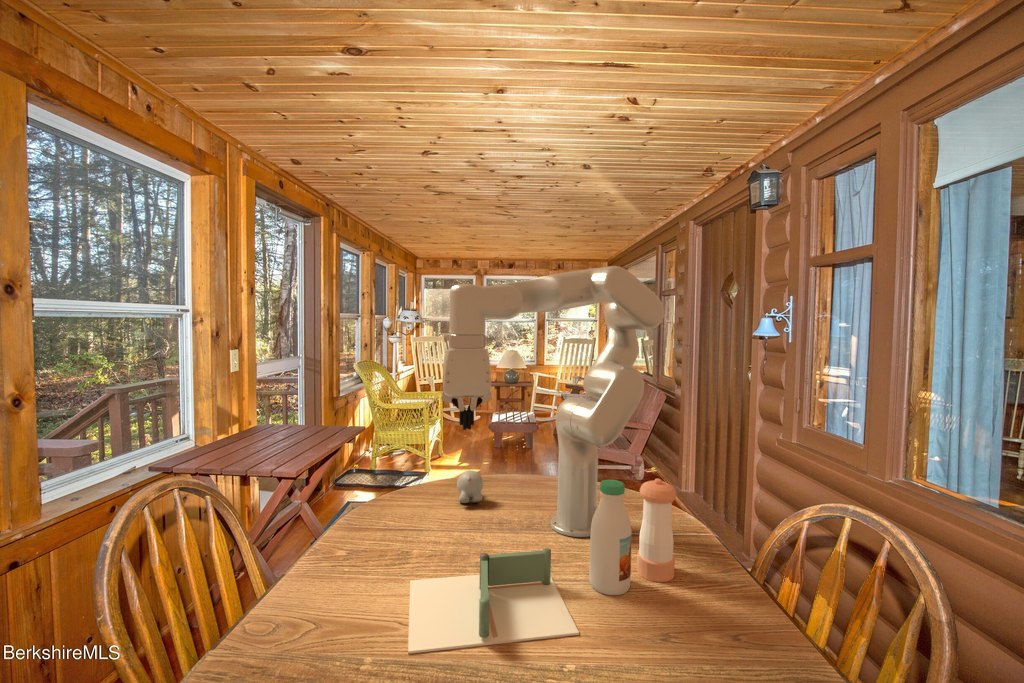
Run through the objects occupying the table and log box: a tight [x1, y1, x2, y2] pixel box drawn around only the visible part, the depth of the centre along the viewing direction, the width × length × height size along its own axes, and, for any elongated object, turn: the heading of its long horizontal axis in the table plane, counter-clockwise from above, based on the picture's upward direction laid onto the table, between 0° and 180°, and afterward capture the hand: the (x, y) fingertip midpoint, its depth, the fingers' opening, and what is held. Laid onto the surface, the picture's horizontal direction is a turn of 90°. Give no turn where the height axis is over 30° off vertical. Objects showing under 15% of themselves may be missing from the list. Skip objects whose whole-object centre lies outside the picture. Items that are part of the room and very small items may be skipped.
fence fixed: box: [479, 547, 552, 590], centre depth 92 cm, size 14×2×7 cm, turn 101°
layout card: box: [407, 574, 580, 655], centre depth 86 cm, size 27×20×1 cm
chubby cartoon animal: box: [456, 469, 484, 504], centre depth 135 cm, size 7×12×8 cm, turn 8°
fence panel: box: [479, 561, 490, 638], centre depth 83 cm, size 13×2×6 cm, turn 3°
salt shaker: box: [636, 477, 677, 583], centre depth 98 cm, size 7×7×19 cm
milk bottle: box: [588, 479, 632, 596], centre depth 93 cm, size 8×8×20 cm
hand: (466, 428), depth 105 cm, fingers closed
